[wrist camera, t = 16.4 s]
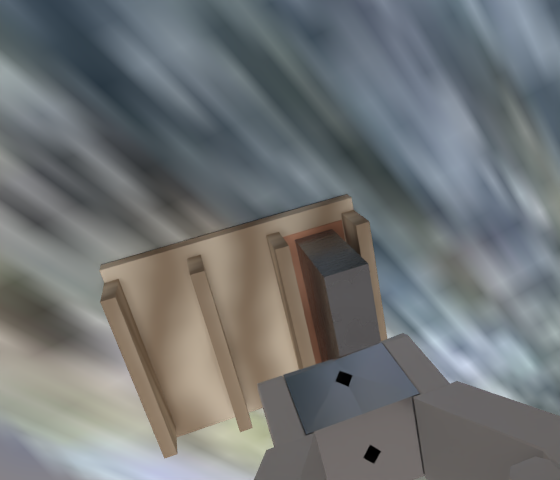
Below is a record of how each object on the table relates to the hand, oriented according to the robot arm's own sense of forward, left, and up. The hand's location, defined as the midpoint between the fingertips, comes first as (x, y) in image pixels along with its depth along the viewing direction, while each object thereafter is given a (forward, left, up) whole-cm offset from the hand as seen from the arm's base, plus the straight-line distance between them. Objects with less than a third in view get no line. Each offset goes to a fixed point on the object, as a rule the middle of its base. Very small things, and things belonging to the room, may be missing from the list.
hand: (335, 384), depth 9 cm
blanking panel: (-6, +14, -26) cm, 30 cm away
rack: (0, +14, -27) cm, 31 cm away
